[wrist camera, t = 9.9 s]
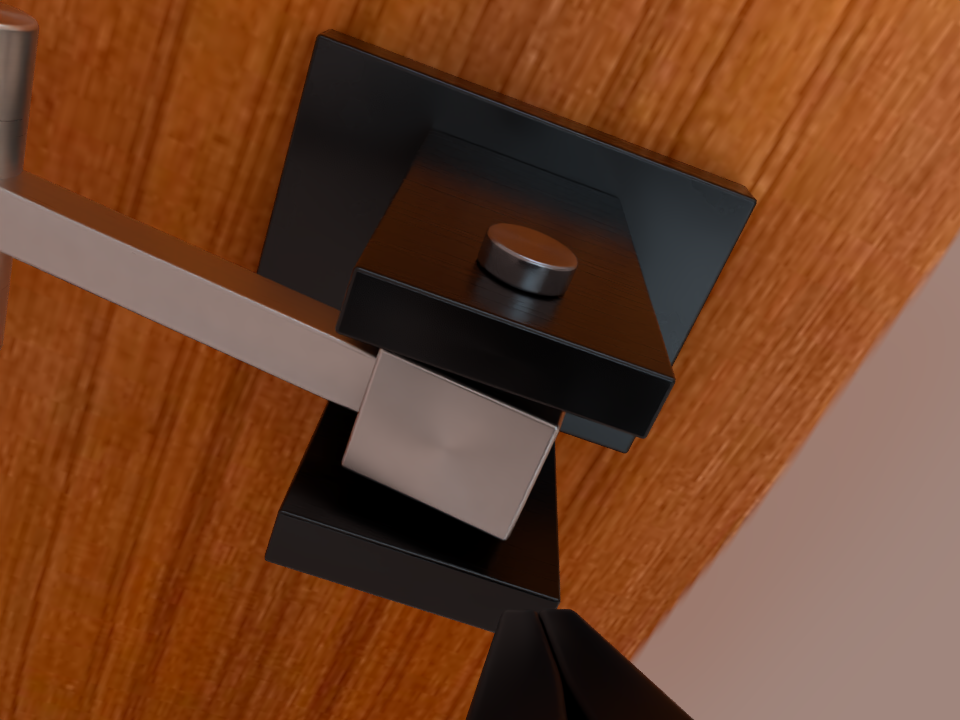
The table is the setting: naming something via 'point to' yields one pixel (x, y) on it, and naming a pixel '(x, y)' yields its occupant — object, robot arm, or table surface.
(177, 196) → the table surface
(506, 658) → the robot arm
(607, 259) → the bracket
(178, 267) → the lever
